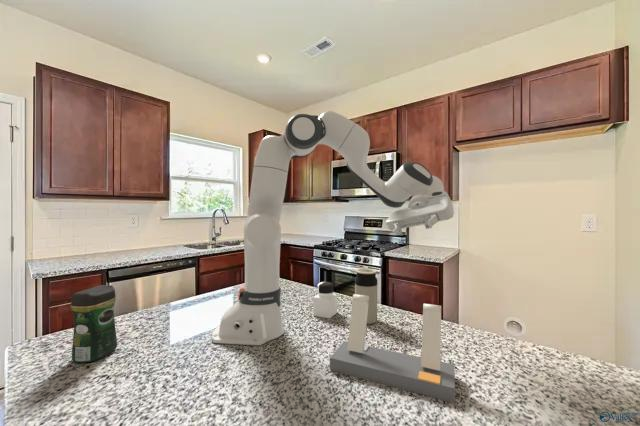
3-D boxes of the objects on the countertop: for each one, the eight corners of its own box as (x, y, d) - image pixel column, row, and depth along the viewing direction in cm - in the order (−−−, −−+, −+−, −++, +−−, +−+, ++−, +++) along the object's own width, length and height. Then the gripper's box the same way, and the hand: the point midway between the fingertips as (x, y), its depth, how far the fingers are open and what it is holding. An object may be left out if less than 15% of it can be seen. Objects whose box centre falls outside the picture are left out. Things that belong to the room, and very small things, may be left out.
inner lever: (346, 349, 73) (353, 293, 77) (349, 349, 74) (355, 294, 78) (362, 353, 71) (367, 295, 75) (364, 352, 73) (369, 296, 77)
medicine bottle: (337, 312, 109) (337, 281, 109) (330, 319, 103) (330, 286, 103) (320, 309, 112) (320, 279, 112) (312, 315, 106) (312, 284, 106)
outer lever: (420, 366, 65) (423, 303, 69) (421, 365, 67) (423, 303, 71) (439, 370, 63) (441, 305, 67) (440, 369, 65) (441, 305, 69)
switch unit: (329, 369, 70) (329, 356, 70) (344, 351, 79) (344, 339, 79) (454, 402, 58) (454, 387, 58) (454, 376, 67) (454, 363, 67)
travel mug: (366, 326, 96) (367, 273, 96) (350, 319, 102) (350, 270, 102) (381, 320, 101) (382, 270, 101) (365, 314, 107) (365, 267, 107)
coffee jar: (97, 345, 83) (97, 282, 82) (122, 347, 82) (122, 283, 82) (64, 363, 73) (63, 292, 73) (91, 365, 72) (90, 293, 72)
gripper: (390, 205, 97) (376, 227, 88) (451, 189, 84) (442, 212, 74) (398, 221, 99) (385, 243, 89) (459, 207, 86) (451, 232, 76)
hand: (411, 229), depth 81 cm, fingers open, 8 cm apart
